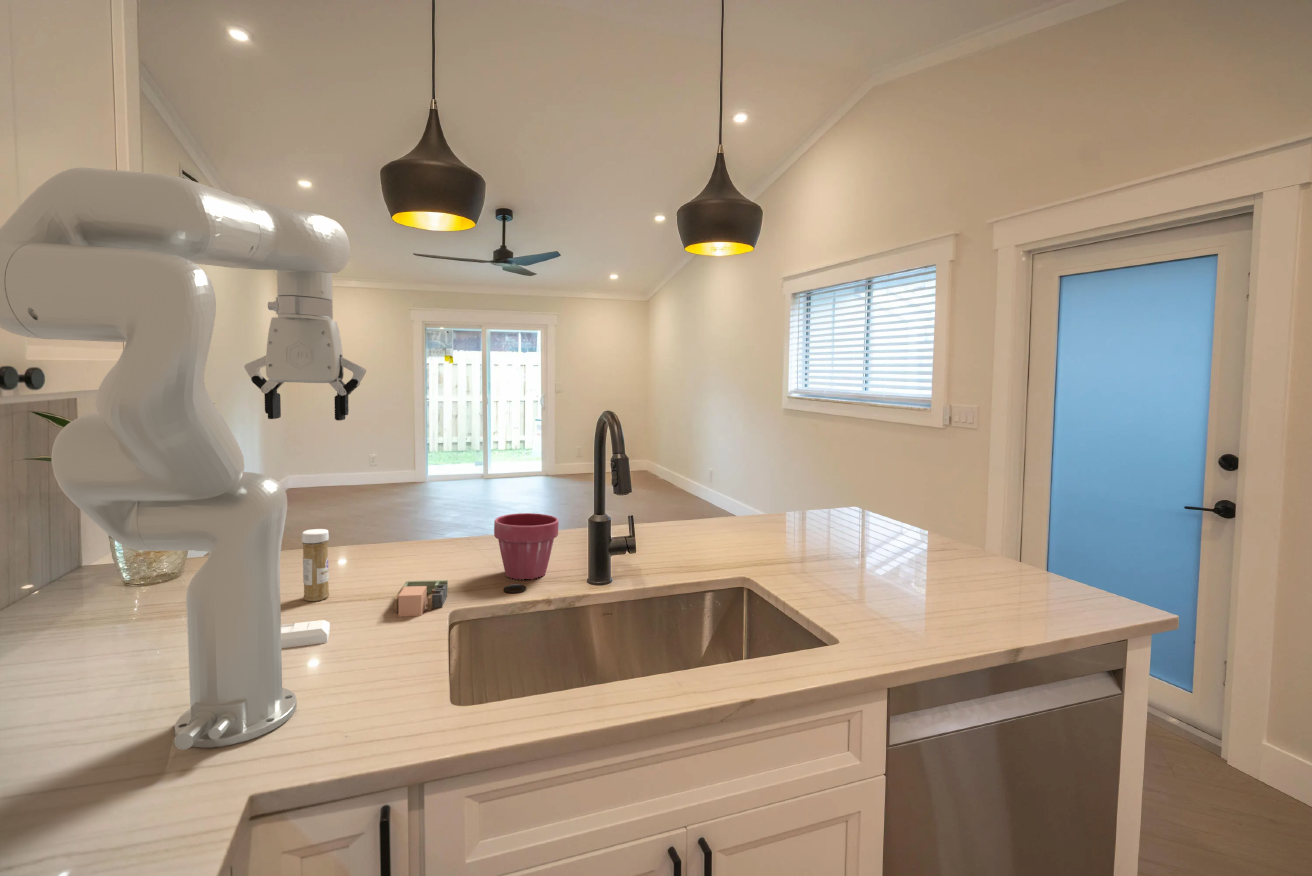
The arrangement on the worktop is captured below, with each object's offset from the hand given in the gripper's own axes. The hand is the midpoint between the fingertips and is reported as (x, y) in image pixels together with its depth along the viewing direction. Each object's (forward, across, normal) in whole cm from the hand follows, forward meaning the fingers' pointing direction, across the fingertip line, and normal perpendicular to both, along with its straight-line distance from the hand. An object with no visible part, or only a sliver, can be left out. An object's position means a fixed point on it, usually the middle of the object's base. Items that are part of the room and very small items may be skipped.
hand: (307, 419), depth 96 cm
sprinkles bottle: (+37, -6, +20) cm, 42 cm away
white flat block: (+37, -2, 0) cm, 37 cm away
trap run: (+37, +14, +16) cm, 42 cm away
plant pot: (+37, +34, +31) cm, 59 cm away
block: (+37, +14, +11) cm, 41 cm away
